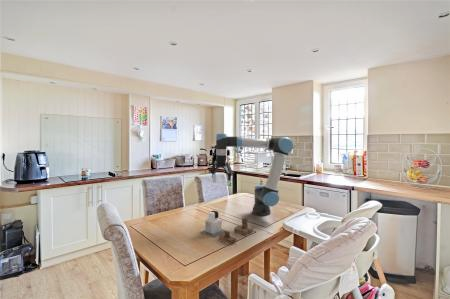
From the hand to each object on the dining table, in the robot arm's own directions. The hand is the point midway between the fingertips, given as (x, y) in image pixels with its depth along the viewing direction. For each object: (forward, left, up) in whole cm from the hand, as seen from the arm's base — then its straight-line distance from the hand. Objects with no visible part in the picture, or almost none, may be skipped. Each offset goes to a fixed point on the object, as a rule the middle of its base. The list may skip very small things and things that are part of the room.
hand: (221, 183), depth 156 cm
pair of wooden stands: (+10, +22, -29) cm, 38 cm away
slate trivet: (+16, +7, -29) cm, 34 cm away
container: (+16, +7, -28) cm, 33 cm away
